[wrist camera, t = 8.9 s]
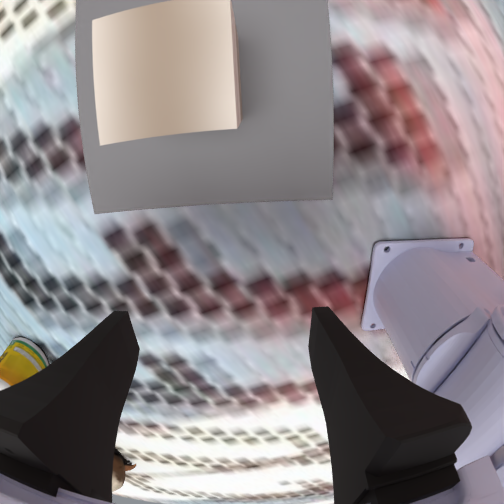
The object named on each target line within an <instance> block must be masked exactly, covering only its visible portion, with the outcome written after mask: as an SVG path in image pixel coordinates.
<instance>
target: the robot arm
mask: <svg viewBox="0 0 504 504" xmlns="http://www.w3.org/2000/svg"><path fill="white" fill-rule="evenodd" d="M460 244H461V245H460ZM459 245H460V246H459ZM387 246H389V247H388V249H387V250H384V249H385V247H387ZM473 246H474V241H473V240H472V239H470V238H460V239H432V240H406V241H380V242H377V243H376V244H375V245H374V247H373V254H372V262H371V269H370V275H369V282H368V288H367V294H366V300H365V306H364V311H363V316H362V322H361V327H362V329H363V330H364V331H369V330H377V329H386V331H387V333H388V335H389V337H390V339H391V341H392V343H393V345H394V347H395V350H396V352H397V354H398V356H399V358H400V360H401V362H402V364H403V366H404V368H405V370H406V373H407V375H408V377H409V379H410V380H408V379H406V378H405V377H403V376H402V375H400V374H399V373H397V372H396V371H394V370H393V369H391V368H390V367H389V366H388V365H386V364H385V363H384V362H382V361H381V360H380V359H379V358H377V357H376V356H375V355H374V354H373V353H372V352H371V351H369V350H368V349H367V348H366V347H365V346H364V345H363V344H362V343H361V342H360V341H359V340H358V339H357V338H356V337H355V336H354V335H353V334H352V333H351V332H350V331H349V329H348V328H347V327H346V326H345V325H344V324H343V323H342V322H341V320H340V319H339V318H338V317H337V316H336V315H335V314H334V312H333V311H332V310H331V309H330V308H329V307H314V308H312V318H311V328H310V337H309V346H308V347H309V354H310V361H311V368H312V372H313V376H314V379H315V383H316V387H317V390H318V394H319V397H320V401H321V405H322V408H323V412H324V416H325V421H326V426H327V433H328V440H329V447H330V456H331V464H332V475H333V488H334V504H504V280H503V279H502V278H501V277H500V276H499V275H498V274H497V273H495V272H494V271H493V270H492V269H491V268H490V267H489V266H488V265H487V264H486V263H484V262H483V261H482V260H481V259H480V258H479V257H478V256H476V255H475V254H474V253H473V252H472V250H473ZM371 324H373V325H371ZM139 350H140V348H139V345H138V342H137V339H136V336H135V333H134V330H133V327H132V324H131V320H130V317H129V314H128V311H114V312H113V313H111V314H110V315H109V316H108V317H106V318H105V319H104V320H103V321H102V322H101V323H100V324H99V325H97V326H96V327H95V328H94V329H93V330H92V331H91V332H90V333H89V334H87V335H86V336H85V337H84V338H83V339H82V340H81V341H80V342H78V343H77V344H76V345H75V346H73V347H72V348H71V349H70V350H69V351H67V352H66V353H65V354H64V355H62V356H61V357H60V358H58V359H57V360H56V361H54V362H53V363H51V364H50V365H48V366H47V367H46V368H44V369H42V370H41V371H39V372H37V373H35V374H34V375H32V376H30V377H29V378H27V379H25V380H23V381H21V382H19V383H17V384H15V385H12V386H10V387H8V388H5V389H3V390H0V504H114V503H112V474H113V460H114V451H115V443H116V437H117V431H118V425H119V421H120V417H121V413H122V410H123V407H124V404H125V401H126V398H127V395H128V392H129V389H130V386H131V383H132V380H133V377H134V374H135V370H136V366H137V361H138V355H139Z"/></svg>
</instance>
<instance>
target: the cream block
mask: <svg viewBox="0 0 504 504" xmlns="http://www.w3.org/2000/svg"><path fill="white" fill-rule="evenodd" d="M92 53H93V77H94V92H95V104H96V115H97V125H98V133H99V141H100V146H101V145H107V144H112V143H118V142H124V141H130V140H136V139H143V138H150V137H157V136H165V135H173V134H181V133H191V132H201V131H212V130H225V129H237V128H238V126H239V125H240V123H241V121H242V120H243V116H242V98H241V80H240V62H239V44H238V34H237V29H236V23H235V18H234V13H233V8H232V2H231V0H171V1H165V2H160V3H155V4H150V5H146V6H141V7H137V8H133V9H129V10H125V11H122V12H118V13H114V14H111V15H107V16H104V17H101V18H98V19H95V20H92Z"/></svg>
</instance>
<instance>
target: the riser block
mask: <svg viewBox="0 0 504 504" xmlns="http://www.w3.org/2000/svg"><path fill="white" fill-rule="evenodd" d="M165 1H171V0H76V22H75V57H76V82H77V97H78V109H79V119H80V128H81V136H82V144H83V151H84V158H85V165H86V171H87V177H88V183H89V188H90V194H91V199H92V204H93V209H94V213H95V214H100V213H110V212H120V211H131V210H142V209H154V208H166V207H179V206H194V205H209V204H226V203H245V202H268V201H297V200H332V198H333V158H334V114H333V76H332V54H331V38H330V24H329V12H328V1H327V0H231V2H232V8H233V13H234V18H235V23H236V29H237V34H238V44H239V62H240V80H241V98H242V116H243V120H242V121H241V123H240V125H239V126H238V128H237V129H225V130H212V131H201V132H191V133H181V134H173V135H165V136H157V137H150V138H143V139H136V140H130V141H124V142H118V143H112V144H107V145H101V146H100V141H99V133H98V125H97V115H96V104H95V92H94V77H93V53H92V20H95V19H98V18H101V17H104V16H107V15H111V14H114V13H118V12H122V11H125V10H129V9H133V8H137V7H141V6H146V5H150V4H155V3H160V2H165Z"/></svg>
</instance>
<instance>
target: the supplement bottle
mask: <svg viewBox="0 0 504 504" xmlns="http://www.w3.org/2000/svg"><path fill="white" fill-rule="evenodd" d="M48 365H49V364H48V360H47V358H46V356H45V354H44V353H43V351H42V350H41V349H40V348H39V347H38V346H37V345H36V344H34V343H33V342H31V341H30V340H28V339H26V338H22V337H18V338H15V339H13V341H12V342H11V343H10V345H9V346H8V347H7V349H6V350H5V351H4V353H3V354H2V356H1V357H0V390H3V389H5V388H8V387H10V386H12V385H15V384H17V383H19V382H21V381H23V380H25V379H27V378H29V377H30V376H32V375H34V374H35V373H37V372H39V371H41V370H42V369H44V368H46V367H47V366H48Z"/></svg>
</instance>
